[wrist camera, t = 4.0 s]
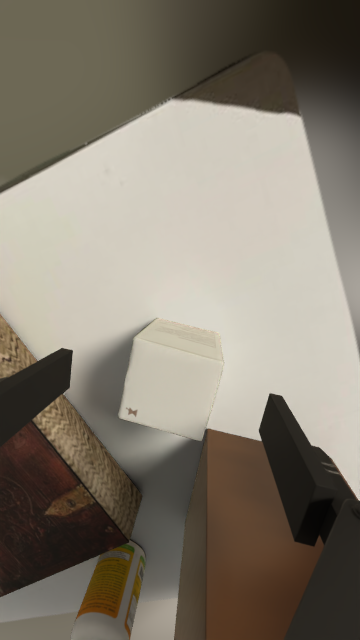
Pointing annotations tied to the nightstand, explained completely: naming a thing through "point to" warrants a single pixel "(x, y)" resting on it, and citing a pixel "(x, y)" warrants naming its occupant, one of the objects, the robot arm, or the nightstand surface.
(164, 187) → the nightstand surface
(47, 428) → the hardback book
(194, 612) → the riser
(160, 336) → the product box
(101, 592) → the supplement bottle
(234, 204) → the nightstand surface
